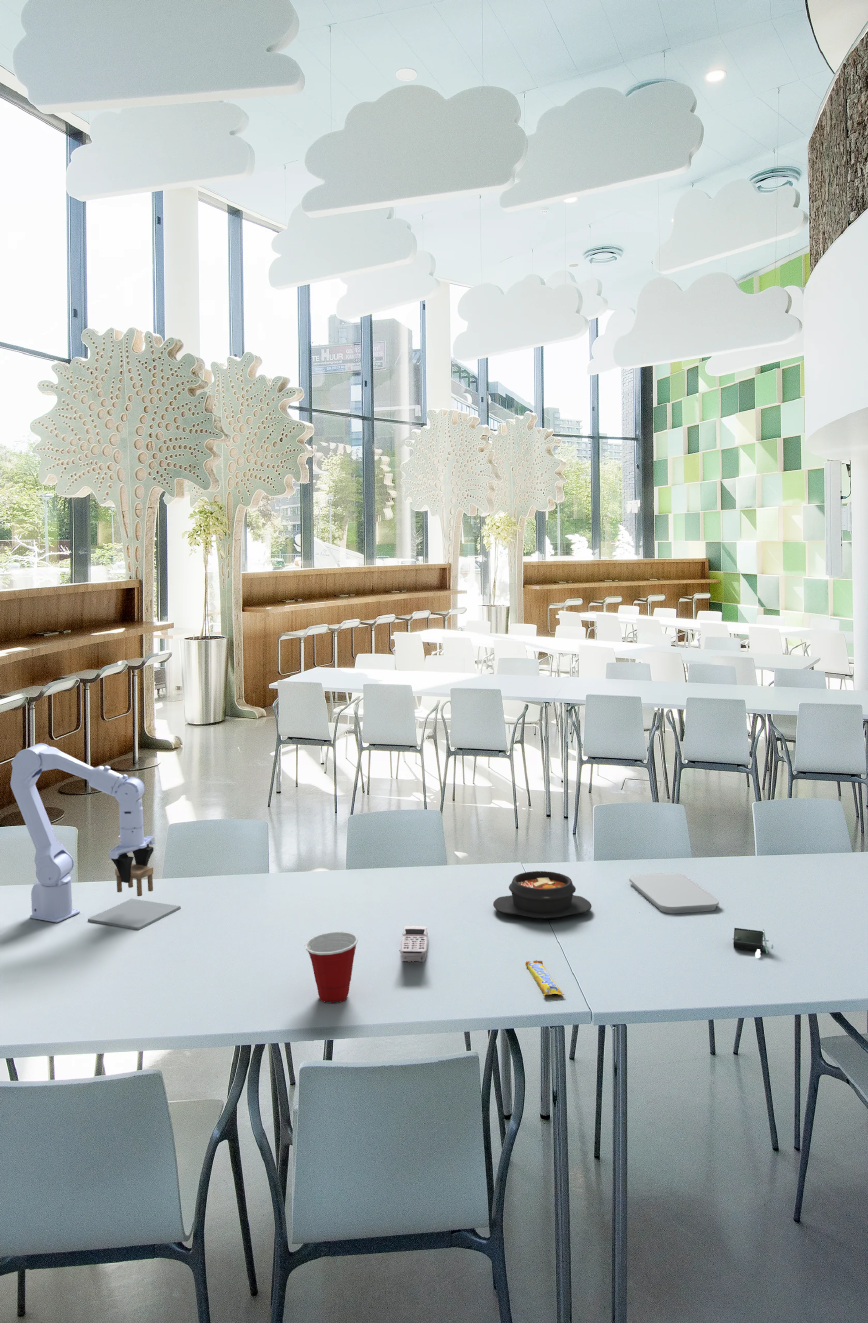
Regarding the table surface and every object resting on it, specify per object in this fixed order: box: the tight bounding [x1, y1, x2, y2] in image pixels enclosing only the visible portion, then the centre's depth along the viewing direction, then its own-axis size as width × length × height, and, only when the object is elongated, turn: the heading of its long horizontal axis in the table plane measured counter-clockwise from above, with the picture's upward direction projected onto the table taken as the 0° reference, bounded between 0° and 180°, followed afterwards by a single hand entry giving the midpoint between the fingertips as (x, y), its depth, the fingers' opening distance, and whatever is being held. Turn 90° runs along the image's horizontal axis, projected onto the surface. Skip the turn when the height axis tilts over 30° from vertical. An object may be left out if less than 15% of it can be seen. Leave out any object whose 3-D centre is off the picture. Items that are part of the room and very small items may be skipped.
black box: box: [733, 927, 774, 959], centre depth 211 cm, size 15×15×6 cm
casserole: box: [492, 870, 593, 920], centre depth 235 cm, size 25×19×8 cm
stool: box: [114, 863, 154, 897], centre depth 235 cm, size 5×8×6 cm, turn 63°
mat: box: [87, 898, 181, 931], centre depth 235 cm, size 16×16×1 cm
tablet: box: [628, 872, 720, 914], centre depth 246 cm, size 16×26×2 cm, turn 9°
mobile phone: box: [398, 925, 429, 963], centre depth 209 cm, size 6×6×25 cm
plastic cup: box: [304, 931, 359, 1004], centre depth 187 cm, size 11×11×12 cm
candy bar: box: [525, 960, 565, 996], centre depth 194 cm, size 17×4×2 cm, turn 9°
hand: (133, 878), depth 235 cm, fingers closed on stool, 5 cm apart
